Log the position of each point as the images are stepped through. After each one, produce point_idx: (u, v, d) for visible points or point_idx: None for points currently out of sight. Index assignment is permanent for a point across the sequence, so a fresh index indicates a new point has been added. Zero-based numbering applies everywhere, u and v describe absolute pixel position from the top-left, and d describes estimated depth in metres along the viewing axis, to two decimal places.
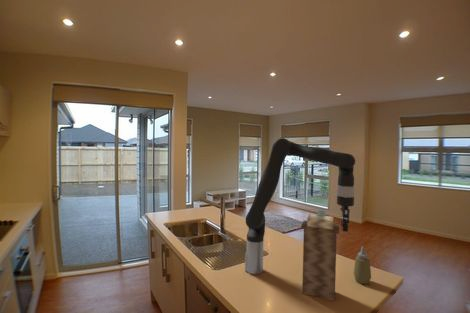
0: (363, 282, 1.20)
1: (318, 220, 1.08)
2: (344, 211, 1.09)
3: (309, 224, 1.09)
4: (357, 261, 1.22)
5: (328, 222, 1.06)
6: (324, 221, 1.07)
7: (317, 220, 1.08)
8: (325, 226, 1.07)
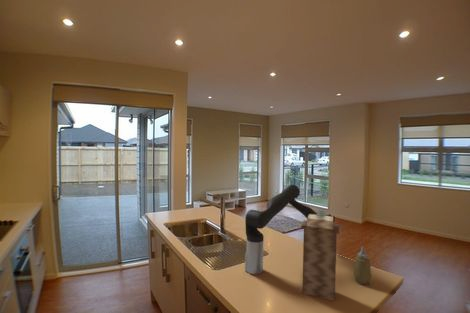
0: (363, 282, 1.20)
1: (318, 220, 1.08)
2: None
3: (309, 224, 1.09)
4: (357, 261, 1.22)
5: (328, 222, 1.06)
6: (324, 221, 1.07)
7: (317, 220, 1.08)
8: (325, 226, 1.07)
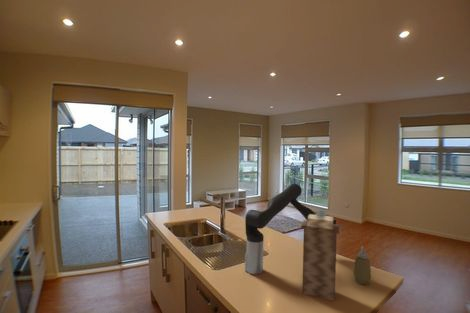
0: (363, 282, 1.20)
1: (318, 220, 1.08)
2: None
3: (309, 224, 1.09)
4: (357, 261, 1.22)
5: (328, 222, 1.06)
6: (324, 221, 1.07)
7: (317, 220, 1.08)
8: (325, 226, 1.07)
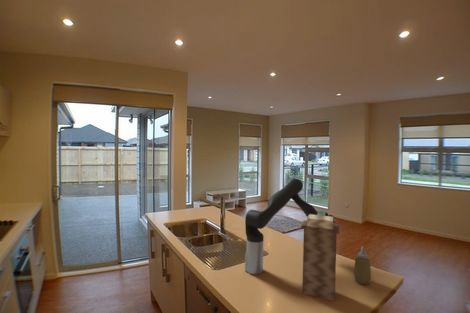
0: (363, 282, 1.20)
1: (318, 220, 1.08)
2: None
3: (309, 224, 1.09)
4: (357, 261, 1.22)
5: (327, 222, 1.06)
6: (324, 221, 1.07)
7: (317, 220, 1.08)
8: (325, 226, 1.07)
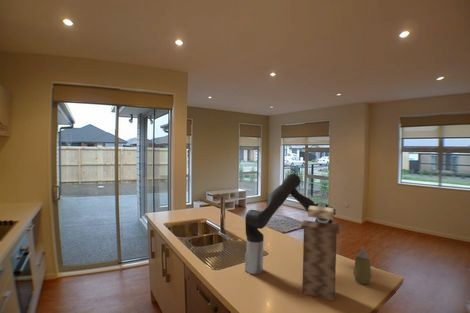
0: (363, 282, 1.20)
1: (318, 211, 1.10)
2: (335, 210, 1.27)
3: (309, 215, 1.11)
4: (357, 261, 1.22)
5: (328, 213, 1.08)
6: (324, 212, 1.09)
7: (317, 211, 1.10)
8: (325, 217, 1.08)
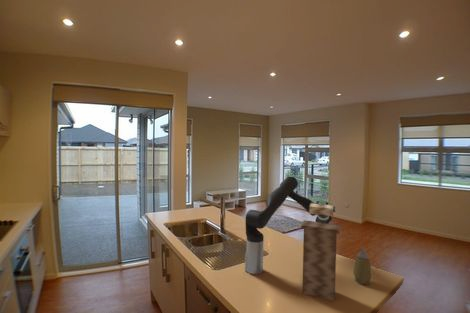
0: (363, 282, 1.20)
1: (319, 208, 1.17)
2: None
3: (311, 212, 1.19)
4: (357, 261, 1.22)
5: (328, 210, 1.16)
6: (325, 209, 1.16)
7: (318, 208, 1.18)
8: (326, 213, 1.16)
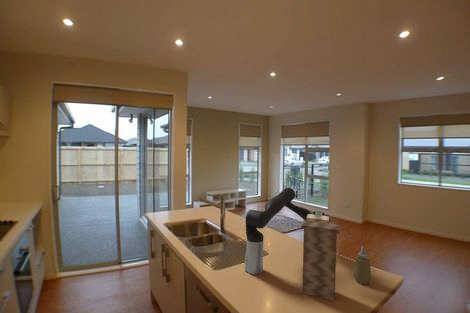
0: (363, 282, 1.20)
1: (316, 219, 1.24)
2: None
3: None
4: (357, 261, 1.22)
5: (324, 221, 1.22)
6: (321, 220, 1.23)
7: (315, 219, 1.24)
8: None
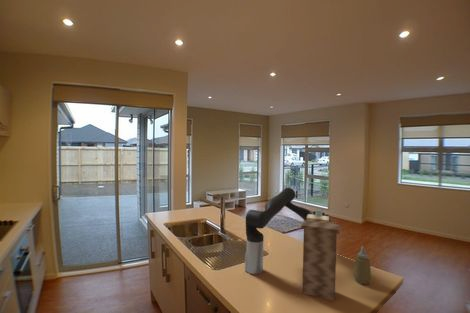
0: (363, 282, 1.20)
1: (316, 219, 1.24)
2: None
3: None
4: (357, 261, 1.22)
5: (324, 221, 1.22)
6: (321, 220, 1.23)
7: (315, 219, 1.24)
8: None
